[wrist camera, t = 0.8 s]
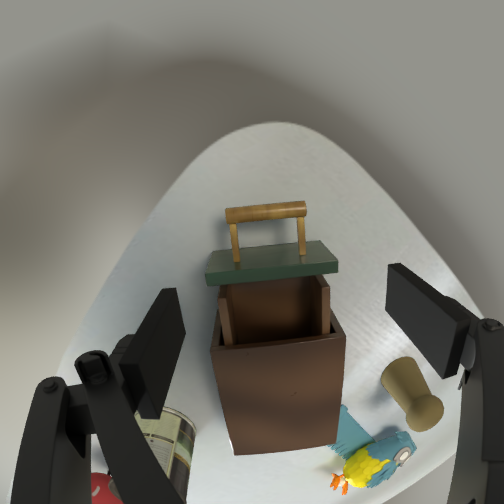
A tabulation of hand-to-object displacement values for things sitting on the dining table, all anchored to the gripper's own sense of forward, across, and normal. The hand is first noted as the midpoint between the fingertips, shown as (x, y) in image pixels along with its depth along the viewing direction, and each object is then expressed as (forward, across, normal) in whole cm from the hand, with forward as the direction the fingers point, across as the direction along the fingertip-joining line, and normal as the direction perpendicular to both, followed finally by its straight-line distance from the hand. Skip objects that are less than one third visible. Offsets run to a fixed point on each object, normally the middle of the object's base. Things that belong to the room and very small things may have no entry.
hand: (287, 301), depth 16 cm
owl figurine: (+18, +15, -40) cm, 47 cm away
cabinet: (+18, 0, -17) cm, 25 cm away
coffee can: (+18, -18, -29) cm, 39 cm away
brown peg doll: (+18, +18, -23) cm, 34 cm away
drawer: (+17, 0, -7) cm, 18 cm away
